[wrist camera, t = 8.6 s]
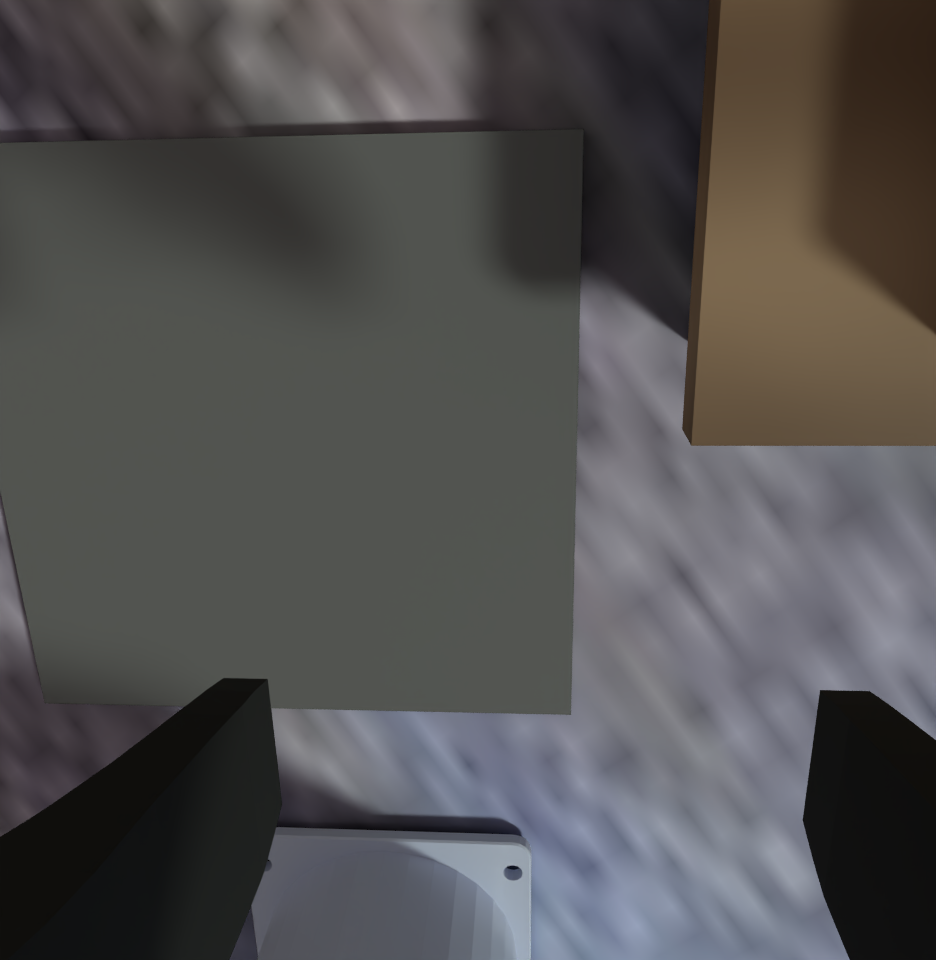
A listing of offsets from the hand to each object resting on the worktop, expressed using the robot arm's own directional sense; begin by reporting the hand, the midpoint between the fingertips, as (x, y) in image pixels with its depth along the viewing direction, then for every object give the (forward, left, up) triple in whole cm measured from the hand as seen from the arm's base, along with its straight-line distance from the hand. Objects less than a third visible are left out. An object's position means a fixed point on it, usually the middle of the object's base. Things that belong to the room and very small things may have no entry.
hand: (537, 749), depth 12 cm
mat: (+1, +6, -10) cm, 12 cm away
